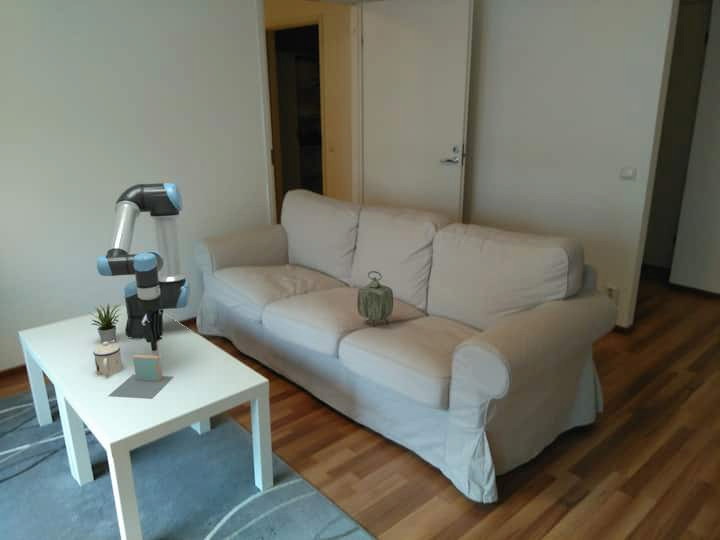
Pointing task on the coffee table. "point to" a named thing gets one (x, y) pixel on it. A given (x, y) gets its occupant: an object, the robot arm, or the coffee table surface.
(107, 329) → the house plant
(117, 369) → the teacup with lid
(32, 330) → the coffee table surface
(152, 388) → the mat
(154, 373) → the tile
